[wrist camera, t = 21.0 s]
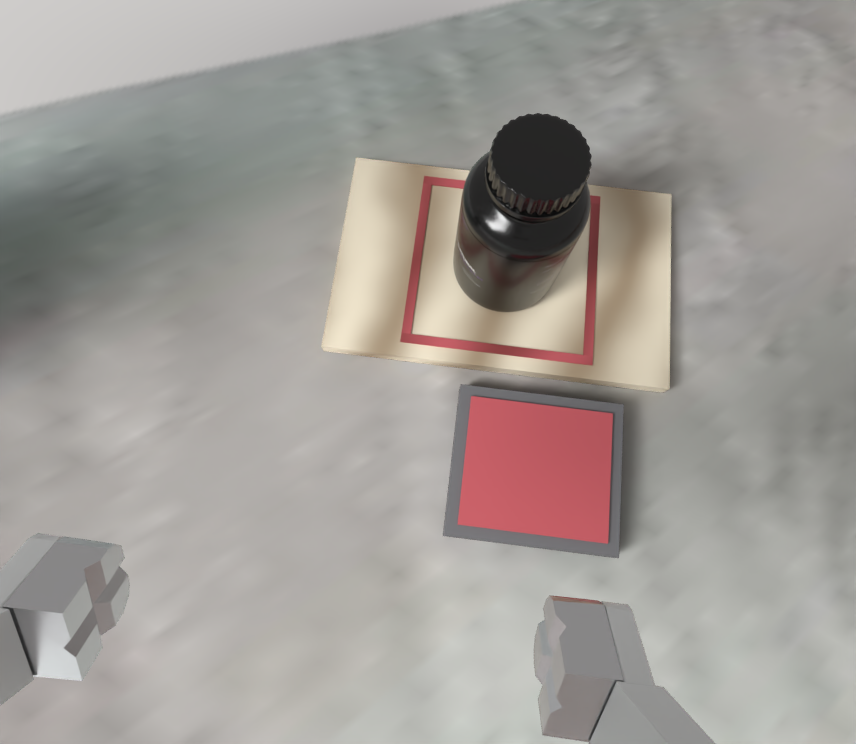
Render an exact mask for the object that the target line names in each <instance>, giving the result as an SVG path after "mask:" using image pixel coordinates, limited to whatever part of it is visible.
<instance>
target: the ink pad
mask: <svg viewBox="0 0 856 744" xmlns="http://www.w3.org/2000/svg"><path fill="white" fill-rule="evenodd" d="M623 411H624V404H616V403H608V402H600V401H592V400H584V399H575V398H567V397H559V396H551V395H543V394H535V393H527V392H519V391H511V390H503V389H495V388H487V387H478V386H470V385H462V384H461V386H460V390H459V397H458V406H457V415H456V424H455V433H454V442H453V451H452V460H451V468H450V477H449V486H448V495H447V504H446V513H445V522H444V531H443V536H449V537H457V538H465V539H472V540H480V541H488V542H496V543H503V544H511V545H519V546H527V547H535V548H542V549H550V550H558V551H566V552H573V553H581V554H589V555H597V556H604V557H613V558H619V539H620V507H621V475H622V443H623Z"/></svg>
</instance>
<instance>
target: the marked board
mask: <svg viewBox="0 0 856 744" xmlns="http://www.w3.org/2000/svg"><path fill="white" fill-rule="evenodd" d="M469 172H470V171H468V170H459V169H451V168H442V167H434V166H425V165H417V164H408V163H399V162H391V161H382V160H374V159H365V158H357V157H356V161H355V166H354V172H353V177H352V183H351V188H350V194H349V199H348V204H347V210H346V215H345V221H344V226H343V232H342V237H341V242H340V248H339V253H338V259H337V264H336V270H335V275H334V280H333V286H332V291H331V297H330V302H329V308H328V313H327V318H326V324H325V329H324V335H323V340H322V345H321V346H322V348H323V350H324V351H328V352H336V353H344V354H352V355H360V356H368V357H376V358H384V359H393V360H401V361H409V362H417V363H425V364H433V365H441V366H449V367H458V368H466V369H474V370H482V371H490V372H498V373H506V374H514V375H523V376H531V377H539V378H547V379H555V380H563V381H571V382H579V383H587V384H596V385H604V386H612V387H620V388H628V389H636V390H644V391H652V392H661V393H664V392H665V391H667V390H669V389H670V296H671V194H665V193H657V192H648V191H640V190H631V189H622V188H614V187H605V186H597V185H588V187H589V191H590V198H591V207H590V214H589V218H588V221H587V224H586V226H585V228H584V231H583V232H582V234H581V236H580V238H579V240H578V241H577V243H576V245H575V247H574V248H573V250H572V252H571V254H570V256H569V257H568V259H567V261H566V263H565V264H564V266H563V268H562V270H561V271H560V273H559V275H558V277H557V278H556V280H555V282H554V284H553V285H552V287H551V289H550V290H549V291H548V293H547V294H546V295H545V296H544V297H543V298H542V299H541V300H540V301H539V302H537V303H536V304H534V305H533V306H531V307H529V308H526V309H524V310H520V311H516V312H497V311H492V310H489V309H486V308H484V307H482V306H480V305H478V304H477V303H475V302H474V301H472V300H471V299H470V298H469V297H468V296H467V295H466V294H465V293H464V292H463V290H462V289H461V287H460V286H459V284H458V282H457V279H456V277H455V273H454V267H453V256H454V247H455V240H456V233H457V226H458V219H459V212H460V205H461V198H462V192H463V188H464V184H465V181H466V178H467V176H468V174H469Z"/></svg>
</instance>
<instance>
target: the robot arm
mask: <svg viewBox="0 0 856 744" xmlns="http://www.w3.org/2000/svg"><path fill="white" fill-rule="evenodd" d="M124 558H125V557H124V554H123V550H122V546H121V545H117V544H112V543H105V542H98V541H91V540H85V539H78V538H71V537H63V536H55V535H48V534H41V533H37V534H36V535H34V536H32V537H30V538H29V539H27V541H26V542H25V543H24V544H23V545H22V546H21V547H20V548H19V550H18V551H17V552H16V553H15V554H14V555H13V556H12V557H11V559H10V560H9V561H8V562H7V563H6V564H5V565H4V566H3V568H2V569H1V570H0V705H2V704H3V703H4V702H6V701H7V700H8V699H9V698H11V697H12V696H13V695H15V694H16V693H17V692H19V691H20V690H21V689H22V688H24V687H25V686H26V685H28V684H29V683H30V682H32V681H33V680H34V677H44V678H55V679H67V680H78V681H83V679H84V677H85V676H86V674H87V672H88V671H89V669H90V667H91V666H92V664H93V662H94V661H95V659H96V657H97V656H98V654H99V653H100V651H101V649H102V648H103V646H102V640H101V635H102V634H104V633H105V632H107V631H108V630H110V629H111V628H113V627H114V626H116V624H117V622H118V621H119V619H120V617H121V615H122V614H123V612H124V609H125V606H126V603H127V600H128V597H129V586H130V583H129V578H128V574H127V573H126V572H125V571H124V570H123V569H122V568H121V567H120V564H121V563H122V561H123V560H124ZM543 610H544V617H545V620H544V621H542V622H540V623H539V624H538V627H537V631H536V635H535V643H534V668H535V676H536V677H537V678H538V680H539V681H540V682H541V684H542V688H541V691H540V694H539V697H538V703H539V711H540V719H541V727H542V735H544V736H551V737H558V738H565V739H571V740H578V741H585V742H589V744H715V742H714V741H713V740H712V739H711V738H710V737H709V736H708V735H707V734H706V733H705V732H704V731H703V729H702V728H701V727H700V726H699V725H698V724H697V723H696V722H695V721H694V720H693V719H692V717H691V716H690V715H689V714H688V713H687V712H686V711H685V710H684V709H683V708H682V707H681V706H680V704H679V703H678V702H677V701H676V700H675V699H674V698H673V697H672V696H671V695H670V694H669V693H668V691H667V690H666V689H665V688H664V687H660V686H655V683H654V680H653V677H652V673H651V670H650V667H649V664H648V660H647V657H646V654H645V651H644V647H643V644H642V641H641V638H640V634H639V631H638V628H637V625H636V621H635V618H634V615H633V612H632V609H631V608H630V607H629V605H627V604H619V603H611V602H600V601H597V600H588V599H578V598H569V597H560V596H550V595H549V597H548V598H547V599H546V602H545V605H544V608H543Z"/></svg>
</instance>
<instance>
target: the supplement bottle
mask: <svg viewBox="0 0 856 744" xmlns="http://www.w3.org/2000/svg"><path fill="white" fill-rule="evenodd" d="M589 150H590V147H589V146H588V145H587V143H586V139H585V138H584V137H583V136H582V134H581V132H580V131H579V130H577V129H576V128H575V126H574V125H572V124H569V123H568V122H567V121H566V120H563V119H560V118H559V117H557V116H551V115H549V114H543V115H542V114H539V113H537V114H527V115H525V116H519V117H518V118H517V119H515V120H511V121H510V122H509V123H508V124H506V125H504V126H503V128H502V130H500V131H499V132H498V133H497V136H496V138H495V139H494V140H493V142H492V147H491V149H490V151H489V152H488V153H486V154H485V155H484V156H483V157H481V158H480V159H479V160H478V161H477V162H476V164H475V165H474V166H473V167H472V169H471V171H470V172H469V174H468V176H467V178H466V181H465V184H464V188H463V192H462V198H461V205H460V212H459V219H458V226H457V233H456V240H455V247H454V256H453V267H454V273H455V277H456V279H457V282H458V284H459V286H460V287H461V289H462V290H463V292H464V293H465V294H466V295H467V296H468V297H469V298H470V299H471V300H472V301H474V302H475V303H477V304H478V305H480V306H482V307H484V308H486V309H489V310H492V311H497V312H516V311H520V310H524V309H526V308H529V307H531V306H533V305H534V304H536V303H537V302H539V301H540V300H541V299H542V298H543V297H544V296H545V295H546V294H547V293H548V291H549V290H550V289H551V287H552V285H553V284H554V282H555V280H556V278H557V277H558V275H559V273H560V271H561V270H562V268H563V266H564V264H565V263H566V261H567V259H568V257H569V256H570V254H571V252H572V250H573V248H574V247H575V245H576V243H577V241H578V240H579V238H580V236H581V234H582V232H583V231H584V228H585V226H586V224H587V221H588V218H589V214H590V207H591V198H590V191H589V187H588V184H587V182H586V181H587V179H588V177H589V174H590V171H589V170H590V168H591V161H590V160H591V154H590V152H589Z"/></svg>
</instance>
